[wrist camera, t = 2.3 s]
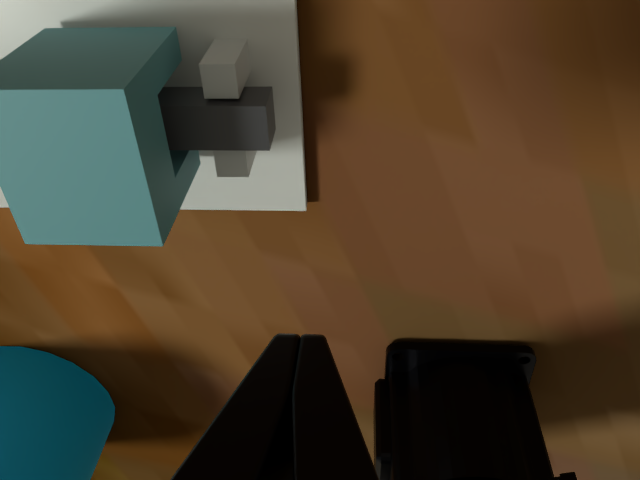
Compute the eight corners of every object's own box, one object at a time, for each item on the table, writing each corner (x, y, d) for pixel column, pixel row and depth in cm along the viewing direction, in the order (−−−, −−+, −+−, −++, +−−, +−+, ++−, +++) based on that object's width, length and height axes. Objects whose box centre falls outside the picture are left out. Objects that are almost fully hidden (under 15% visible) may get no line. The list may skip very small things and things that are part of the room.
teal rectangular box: (175, 26, 17) (123, 89, 13) (200, 163, 20) (162, 246, 16) (44, 28, 17) (-42, 90, 13) (87, 162, 20) (25, 243, 16)
